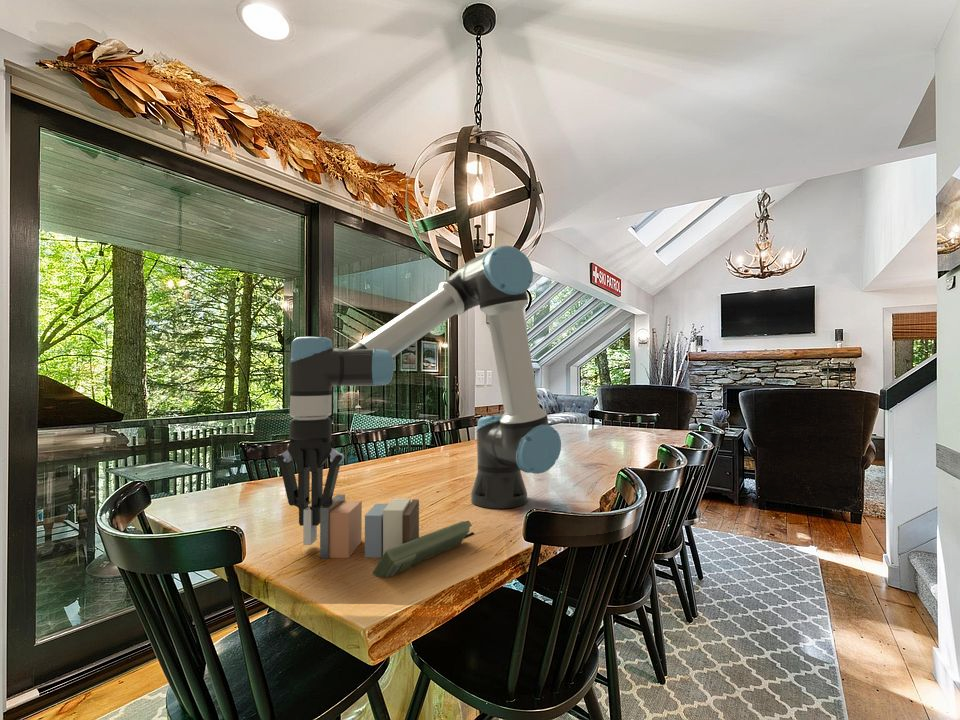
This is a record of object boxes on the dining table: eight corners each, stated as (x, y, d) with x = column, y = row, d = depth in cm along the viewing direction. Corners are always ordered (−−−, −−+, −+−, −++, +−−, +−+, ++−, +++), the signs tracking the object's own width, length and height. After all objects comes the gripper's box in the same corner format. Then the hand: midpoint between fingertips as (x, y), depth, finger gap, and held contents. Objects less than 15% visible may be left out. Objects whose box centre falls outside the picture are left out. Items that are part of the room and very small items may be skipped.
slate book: (390, 542, 88) (390, 503, 88) (381, 557, 81) (381, 515, 81) (375, 542, 88) (375, 503, 88) (364, 557, 81) (364, 515, 81)
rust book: (361, 541, 88) (361, 500, 89) (348, 557, 80) (348, 513, 81) (344, 541, 89) (344, 500, 89) (329, 557, 81) (329, 513, 81)
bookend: (344, 540, 89) (345, 494, 89) (328, 558, 80) (328, 507, 80) (337, 539, 89) (337, 494, 89) (320, 558, 80) (320, 507, 80)
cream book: (410, 541, 88) (410, 498, 88) (402, 558, 80) (402, 510, 80) (393, 541, 88) (393, 498, 89) (383, 558, 80) (383, 510, 81)
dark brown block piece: (419, 545, 89) (418, 499, 89) (409, 567, 79) (409, 515, 79) (314, 545, 90) (315, 499, 90) (292, 566, 80) (293, 514, 80)
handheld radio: (367, 573, 75) (465, 532, 94) (377, 590, 73) (475, 545, 92) (383, 547, 72) (480, 510, 92) (394, 563, 71) (490, 523, 90)
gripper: (350, 415, 89) (350, 535, 88) (286, 415, 90) (285, 534, 89) (337, 419, 82) (336, 550, 81) (267, 419, 82) (266, 549, 81)
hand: (310, 542), depth 85 cm, fingers closed
